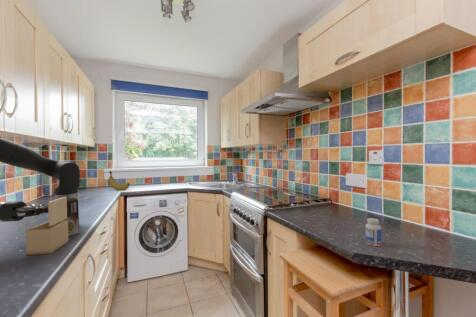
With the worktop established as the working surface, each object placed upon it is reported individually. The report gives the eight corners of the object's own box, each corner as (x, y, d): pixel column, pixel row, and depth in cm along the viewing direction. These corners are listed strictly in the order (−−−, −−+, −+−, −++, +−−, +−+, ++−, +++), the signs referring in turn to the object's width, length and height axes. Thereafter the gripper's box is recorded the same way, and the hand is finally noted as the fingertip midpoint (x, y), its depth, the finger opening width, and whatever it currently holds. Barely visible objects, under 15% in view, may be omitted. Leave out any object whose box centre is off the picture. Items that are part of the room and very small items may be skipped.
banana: (131, 189, 227) (130, 170, 227) (127, 190, 222) (127, 171, 221) (111, 189, 230) (110, 170, 230) (107, 190, 224) (106, 171, 224)
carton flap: (65, 218, 91) (64, 196, 91) (67, 218, 92) (66, 196, 91) (48, 225, 82) (48, 202, 81) (51, 225, 82) (50, 201, 82)
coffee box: (75, 230, 106) (74, 197, 105) (79, 233, 102) (78, 199, 101) (51, 236, 99) (50, 200, 98) (54, 239, 95) (53, 202, 94)
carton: (46, 243, 91) (46, 221, 91) (68, 241, 92) (67, 220, 92) (26, 255, 80) (25, 231, 80) (51, 253, 81) (50, 229, 81)
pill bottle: (378, 241, 89) (378, 217, 89) (383, 247, 84) (384, 222, 83) (363, 240, 90) (363, 217, 90) (368, 245, 85) (368, 221, 85)
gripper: (-11, 206, 77) (45, 203, 80) (20, 198, 90) (67, 196, 93) (-10, 227, 77) (45, 223, 80) (20, 216, 90) (67, 214, 93)
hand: (57, 209), depth 86 cm, fingers closed
